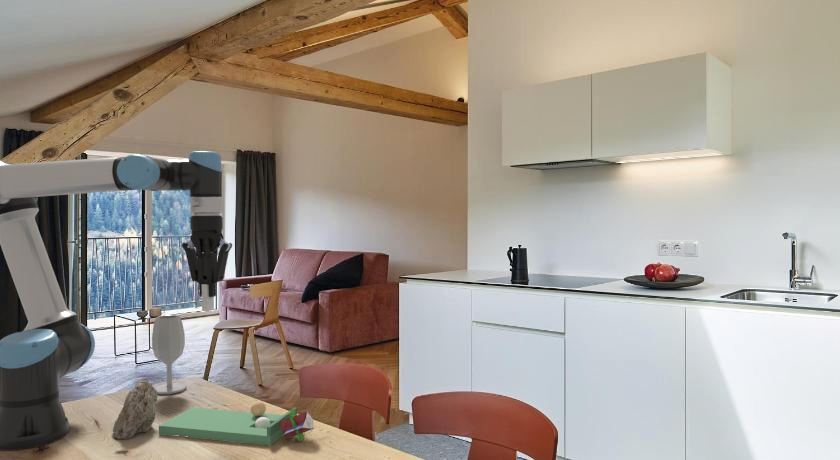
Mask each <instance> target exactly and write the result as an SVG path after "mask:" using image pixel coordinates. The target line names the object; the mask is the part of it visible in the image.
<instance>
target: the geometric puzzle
mask: <svg viewBox="0 0 840 460" xmlns="http://www.w3.org/2000/svg"><path fill="white" fill-rule="evenodd" d="M294 408H295V407H292V408H291V409H292V410H291V409H290V410H291V412H290V413H289V414H288V416H289V417H290V418H289V419H286V420H283V419H282V420H283V421H281V422H279V423H280V426H281V428H282V431H283V433H284V435H283V436H284V438H285V440H291V439H292V438H293V439H294V440H293V441H294V442H295V443H297V444H301V442H303V440H304V438H305V437H306V432H307V434H310V432H312V431H313V430H314V429H315V426H314V418H313V417H312V416H311V415H310V413H309V412H308V411H304V410H302V409H301V410H302V412H300V411H299V410H298V409H297V410H296V411H297V413H298V414H297V415H295V414H296V413H295V412H294V410H293V409H294ZM286 417H287V416H286ZM296 438H297V439H298V440H295V439H296Z"/></svg>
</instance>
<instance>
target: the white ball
mask: <svg viewBox="0 0 840 460" xmlns="http://www.w3.org/2000/svg"><path fill="white" fill-rule="evenodd" d="M270 424H271V423H270V420H269V419H268V418H266V417H260V418H259V419H257V421H256V422H255V428H265V429H267V426H269V425H270Z"/></svg>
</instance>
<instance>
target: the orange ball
mask: <svg viewBox="0 0 840 460" xmlns="http://www.w3.org/2000/svg"><path fill="white" fill-rule="evenodd" d="M266 408H267V406H266V404H265V403H264V402H263V401H261V400H260V401H259V400H257V401H254V402H253V403H252V404H251V406H250V412H251V413H252V414H253V415H254V416H257V417H259V416H262V415H263V414H266V413H265V412H266V410H267V409H266Z"/></svg>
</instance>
